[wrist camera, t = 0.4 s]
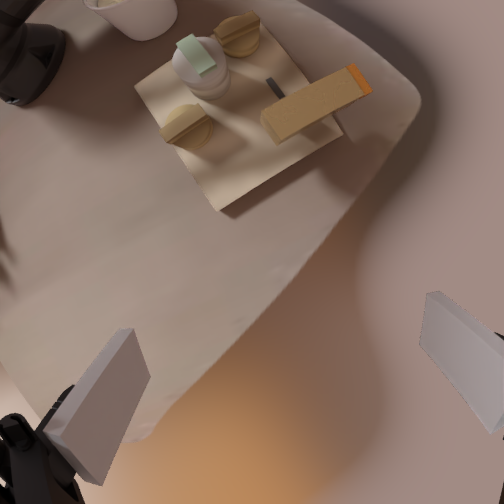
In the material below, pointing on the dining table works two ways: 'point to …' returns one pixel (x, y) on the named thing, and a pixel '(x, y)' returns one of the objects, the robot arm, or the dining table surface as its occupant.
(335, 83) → the wing knob
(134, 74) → the dining table surface
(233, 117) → the beige square board
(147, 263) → the dining table surface
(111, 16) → the candle holder
